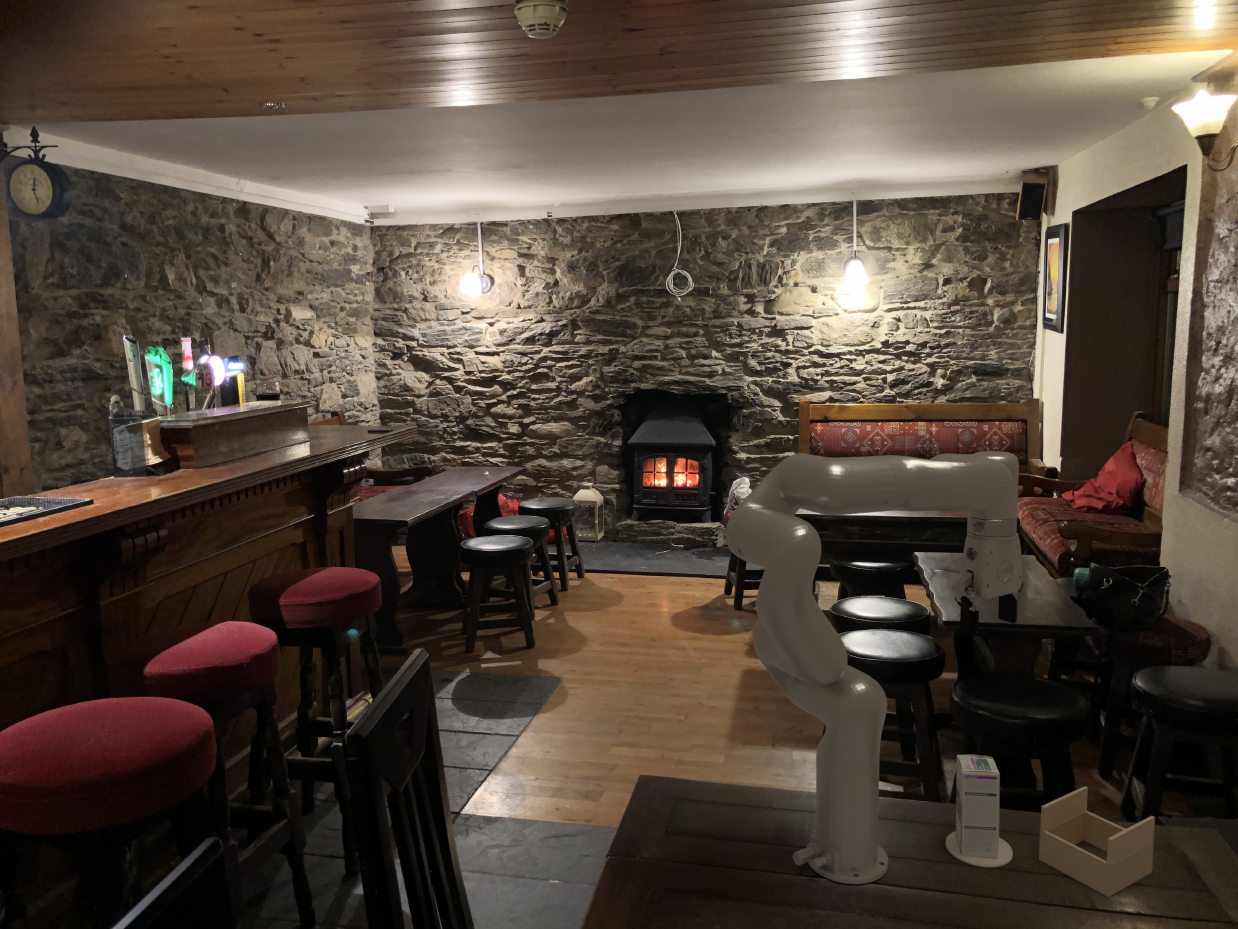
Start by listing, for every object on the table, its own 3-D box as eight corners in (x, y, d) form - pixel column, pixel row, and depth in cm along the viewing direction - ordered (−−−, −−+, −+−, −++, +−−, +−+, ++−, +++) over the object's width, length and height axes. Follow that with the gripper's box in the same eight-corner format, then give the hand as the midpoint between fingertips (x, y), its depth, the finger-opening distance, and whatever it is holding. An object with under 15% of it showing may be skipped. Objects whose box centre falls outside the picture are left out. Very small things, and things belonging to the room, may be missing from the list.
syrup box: (999, 859, 139) (1002, 772, 137) (959, 856, 140) (962, 770, 138) (991, 839, 144) (994, 755, 142) (953, 836, 145) (955, 753, 143)
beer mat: (984, 875, 136) (985, 872, 136) (932, 844, 144) (932, 841, 144) (1026, 854, 141) (1026, 852, 141) (973, 825, 149) (973, 823, 149)
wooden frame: (1108, 897, 130) (1111, 840, 128) (1038, 859, 139) (1041, 806, 138) (1151, 872, 135) (1155, 817, 134) (1082, 837, 145) (1084, 786, 143)
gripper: (976, 538, 139) (973, 643, 141) (1045, 523, 147) (1041, 622, 150) (937, 529, 145) (934, 630, 147) (1005, 516, 153) (1002, 611, 156)
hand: (988, 626), depth 148 cm, fingers open, 9 cm apart
